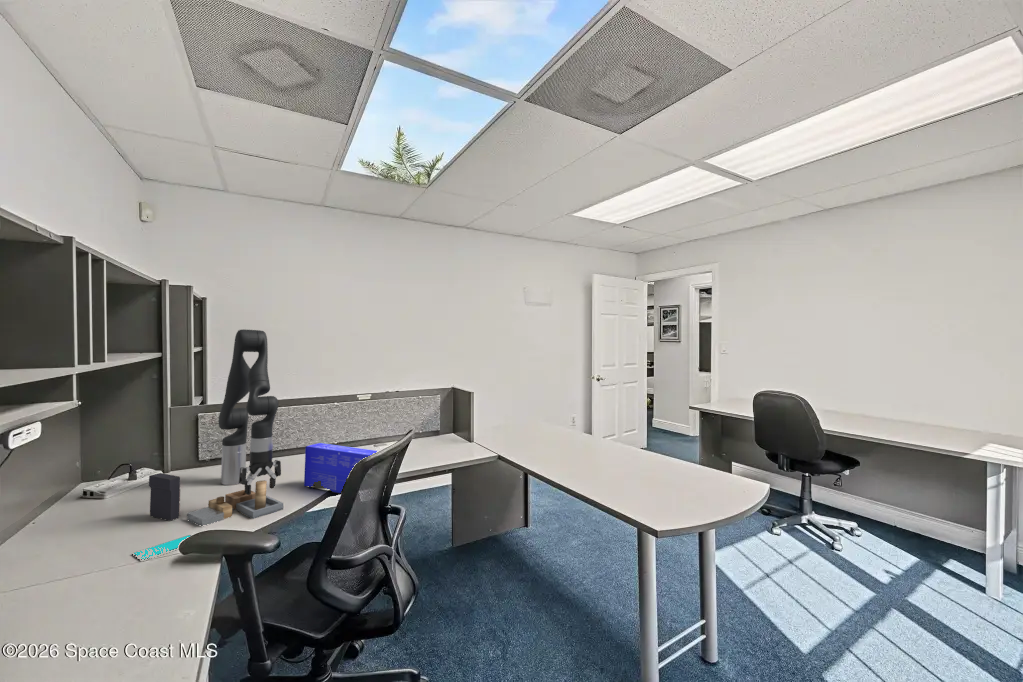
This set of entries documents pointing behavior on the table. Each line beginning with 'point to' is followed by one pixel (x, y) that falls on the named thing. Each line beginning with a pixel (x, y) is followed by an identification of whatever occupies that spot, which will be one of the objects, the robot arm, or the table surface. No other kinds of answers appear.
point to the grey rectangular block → (205, 516)
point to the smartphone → (170, 545)
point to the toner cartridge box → (331, 464)
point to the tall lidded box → (164, 496)
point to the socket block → (238, 497)
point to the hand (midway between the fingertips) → (260, 491)
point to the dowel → (260, 494)
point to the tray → (250, 511)
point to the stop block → (221, 506)
